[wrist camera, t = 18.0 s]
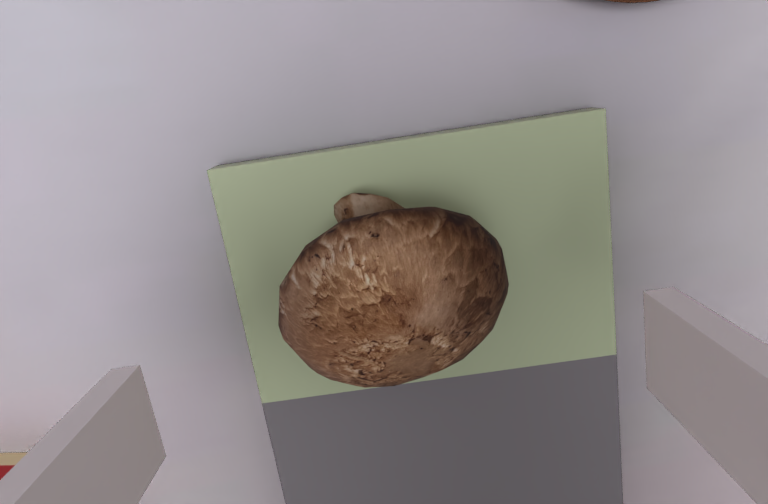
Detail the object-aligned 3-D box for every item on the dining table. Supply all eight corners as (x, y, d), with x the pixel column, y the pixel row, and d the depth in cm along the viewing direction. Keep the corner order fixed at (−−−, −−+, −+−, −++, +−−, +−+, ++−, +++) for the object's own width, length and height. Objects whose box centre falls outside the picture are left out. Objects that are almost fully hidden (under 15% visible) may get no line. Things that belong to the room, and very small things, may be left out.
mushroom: (284, 127, 18) (325, 282, 14) (498, 145, 21) (580, 275, 17) (251, 288, 23) (273, 431, 19) (424, 283, 26) (474, 405, 22)
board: (612, 525, 27) (625, 549, 26) (309, 564, 28) (306, 589, 27) (591, 107, 22) (605, 108, 21) (217, 165, 23) (206, 170, 21)
